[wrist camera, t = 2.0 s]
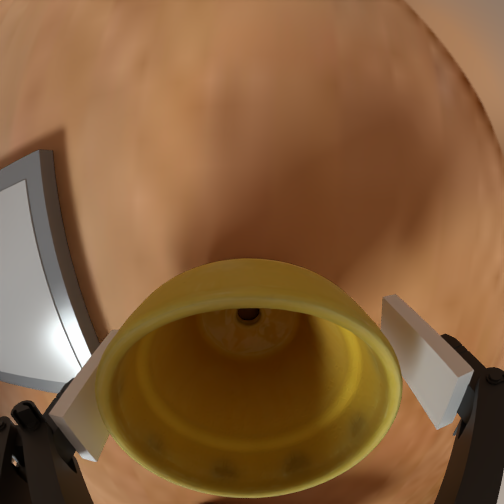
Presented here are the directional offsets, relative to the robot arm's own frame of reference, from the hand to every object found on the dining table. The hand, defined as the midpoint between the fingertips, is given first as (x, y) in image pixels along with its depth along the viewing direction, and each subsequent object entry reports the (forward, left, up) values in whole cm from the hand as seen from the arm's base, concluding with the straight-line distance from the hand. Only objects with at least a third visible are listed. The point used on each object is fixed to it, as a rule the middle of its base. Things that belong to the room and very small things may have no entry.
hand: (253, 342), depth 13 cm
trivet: (-20, +3, -4) cm, 21 cm away
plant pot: (0, 0, -4) cm, 4 cm away
